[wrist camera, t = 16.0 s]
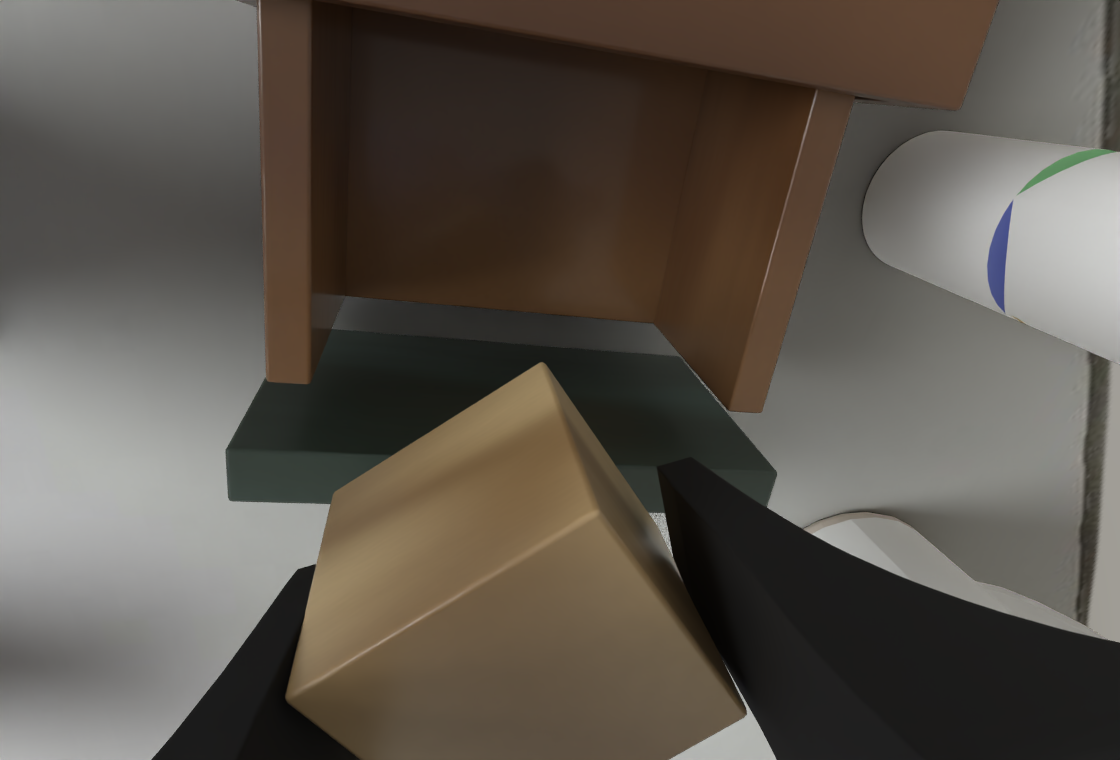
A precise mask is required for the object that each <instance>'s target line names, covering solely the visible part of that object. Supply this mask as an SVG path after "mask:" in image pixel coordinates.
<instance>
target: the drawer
mask: <svg viewBox="0 0 1120 760" xmlns="http://www.w3.org/2000/svg"><path fill="white" fill-rule="evenodd" d="M256 1H257V41H258V81H259V121H260V161H261V201H262V241H263V282H264V322H265V362H266V377H265V379H264V381H263V383H262V385H261V387H260V388H259V390H258V392H257V394H256V396H255V397H254V399H253V401H252V403H251V405H250V407H249V408H248V410H247V412H246V414H245V416H244V418H243V419H242V421H241V423H240V425H239V427H238V429H237V430H236V432H235V434H234V436H233V438H232V439H231V441H230V443H229V445H228V447H227V449H226V469H227V488H228V498H229V500H230V501H241V502H278V503H315V504H331V501H332V496H333V494H334V492H335V491H337V490H338V489H340V488H342V487H343V486H345V485H346V484H348V483H349V482H351V481H353V480H354V479H356V478H357V477H359V476H361V475H362V474H364V473H365V472H367V471H369V470H370V469H372V468H373V467H375V466H376V465H378V464H380V463H381V462H383V461H384V460H386V459H388V458H389V457H391V456H392V455H394V454H396V453H397V452H399V451H400V450H402V449H403V448H405V447H407V446H408V445H410V444H411V443H413V442H415V441H416V440H418V439H419V438H421V437H423V436H424V435H426V434H427V433H429V432H430V431H432V430H434V429H435V428H437V427H438V426H440V425H442V424H443V423H445V422H446V421H448V420H450V419H451V418H453V417H454V416H456V415H457V414H459V413H461V412H462V411H464V410H465V409H467V408H469V407H470V406H472V405H473V404H475V403H477V402H478V401H480V400H481V399H483V398H484V397H486V396H488V395H489V394H491V393H492V392H494V391H496V390H497V389H499V388H500V387H502V386H504V385H505V384H507V383H508V382H510V381H511V380H513V379H515V378H516V377H518V376H519V375H521V374H523V373H524V372H526V371H527V370H529V369H531V368H532V367H534V366H535V365H537V364H538V363H541V362H543V363H545V364H546V365H547V366H548V368H549V369H550V371H551V372H552V374H553V375H554V377H555V378H556V380H557V381H558V382H559V384H560V385H561V387H562V388H563V390H564V391H565V393H566V394H567V396H568V397H569V398H570V400H571V401H572V403H573V404H574V406H575V407H576V409H577V410H578V412H579V413H580V414H581V416H582V417H583V419H584V420H585V422H586V423H587V425H588V426H589V428H590V429H591V430H592V432H593V433H594V435H595V436H596V438H597V439H598V441H599V442H600V443H601V445H602V446H603V448H604V449H605V451H606V452H607V454H608V455H609V457H610V458H611V459H612V461H613V462H614V464H615V465H616V467H617V468H618V470H619V471H620V473H621V474H622V475H623V477H624V478H625V480H626V481H627V483H628V484H629V486H630V487H631V489H632V490H633V491H634V493H635V494H636V496H637V497H638V499H639V500H640V502H641V503H642V505H643V506H644V507H645V509H646V510H647V512H648V513H665V510H664V505H663V499H662V494H661V489H660V483H659V478H658V473H657V466H660V465H664V464H667V463H671V462H674V461H678V460H681V459H685V458H688V457H692V458H694V459H696V460H697V461H699V462H700V463H702V464H703V465H705V466H706V467H707V468H709V469H710V470H712V471H713V472H714V473H716V474H717V475H719V476H720V477H722V478H723V479H724V480H726V481H727V482H729V483H730V484H732V485H733V486H735V487H736V488H738V489H739V490H741V491H742V492H743V493H745V494H746V495H748V496H750V497H751V498H753V499H754V500H756V501H757V502H759V503H760V504H762V505H764V506H765V507H767V505H768V502H769V498H770V495H771V492H772V489H773V486H774V483H775V480H776V477H777V472H776V470H775V469H774V468H773V467H772V465H771V464H770V463H769V462H768V461H767V460H766V458H765V457H764V456H763V455H762V454H761V452H760V451H759V450H758V449H757V448H756V447H755V445H754V444H753V443H752V442H751V441H750V439H749V438H748V437H747V436H746V435H745V434H744V432H743V431H742V430H741V429H740V428H739V427H738V425H737V424H736V423H735V422H734V421H733V419H732V418H731V417H730V416H729V415H728V414H727V412H726V411H725V410H724V409H723V408H722V406H721V405H720V404H719V403H718V402H717V401H716V399H715V398H714V397H713V396H712V395H711V394H710V392H709V391H708V390H707V389H706V388H705V386H704V385H703V384H702V383H701V382H700V381H699V379H698V378H697V377H696V376H695V375H694V373H693V372H692V371H691V370H690V369H689V368H688V366H687V365H686V364H685V363H684V362H683V361H682V359H681V358H680V357H677V356H664V355H652V354H639V353H626V352H614V351H601V350H589V349H576V348H563V347H551V346H538V345H525V344H513V343H500V342H488V341H475V340H462V339H450V338H437V337H424V336H412V335H399V334H387V333H374V332H361V331H349V330H336V329H332V328H333V325H334V323H335V320H336V317H337V315H338V312H339V310H340V307H341V305H342V302H343V300H344V297H345V296H351V297H362V298H373V299H385V300H396V301H407V302H418V303H429V304H440V305H452V306H463V307H474V308H485V309H496V310H508V311H519V312H530V313H541V314H552V315H563V316H575V317H586V318H597V319H608V320H619V321H630V322H642V323H653V324H654V325H655V326H656V327H657V328H658V329H659V331H660V332H661V333H662V334H663V335H664V336H665V338H666V339H667V340H668V341H669V342H670V343H671V345H672V346H673V347H674V348H675V349H676V350H677V352H678V353H679V354H680V355H681V356H682V357H683V359H684V360H685V361H686V362H687V363H688V364H689V366H690V367H691V368H692V369H693V370H694V371H695V373H696V374H697V375H698V376H699V377H700V378H701V379H702V381H703V382H704V383H705V384H706V385H707V386H708V388H709V389H710V390H711V391H712V392H713V393H714V395H715V396H716V397H717V398H718V399H719V400H720V402H721V403H722V404H723V405H724V406H725V407H726V409H727V410H728V411H734V412H750V413H761V412H762V410H763V407H764V403H765V400H766V396H767V393H768V390H769V386H770V383H771V380H772V376H773V373H774V369H775V366H776V363H777V359H778V356H779V353H780V349H781V346H782V342H783V339H784V336H785V332H786V329H787V326H788V322H789V319H790V315H791V312H792V309H793V305H794V302H795V299H796V295H797V292H798V288H799V285H800V282H801V278H802V275H803V272H804V268H805V265H806V261H807V258H808V255H809V251H810V248H811V245H812V241H813V238H814V234H815V231H816V228H817V224H818V221H819V218H820V214H821V211H822V207H823V204H824V201H825V197H826V194H827V191H828V187H829V184H830V181H831V177H832V174H833V170H834V167H835V164H836V160H837V157H838V154H839V150H840V147H841V143H842V140H843V137H844V133H845V130H846V127H847V123H848V120H849V116H850V113H851V110H852V106H853V103H854V100H855V96H854V95H848V94H842V93H837V92H831V91H825V90H820V89H814V88H808V87H803V86H797V85H791V84H786V83H780V82H774V81H769V80H763V79H757V78H752V77H746V76H740V75H735V74H729V73H723V72H718V71H712V70H706V69H701V68H695V67H689V66H684V65H678V64H672V63H667V62H661V61H655V60H650V59H644V58H638V57H633V56H627V55H621V54H616V53H610V52H604V51H599V50H593V49H587V48H582V47H576V46H570V45H565V44H559V43H553V42H548V41H542V40H536V39H531V38H525V37H519V36H514V35H508V34H502V33H497V32H491V31H485V30H480V29H474V28H468V27H463V26H457V25H451V24H446V23H440V22H434V21H429V20H423V19H417V18H412V17H406V16H400V15H395V14H389V13H383V12H378V11H372V10H366V9H361V8H355V7H349V6H344V5H338V4H332V3H327V2H321V1H315V0H256Z"/></svg>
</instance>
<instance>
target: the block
mask: <svg viewBox="0 0 1120 760" xmlns="http://www.w3.org/2000/svg"><path fill="white" fill-rule="evenodd" d="M285 699H286V701H287V703H288V704H289V705H291V706H292V707H293V708H295V709H296V710H297V711H298V712H300V713H301V714H302V715H304V716H305V717H306V718H307V719H309V720H310V721H311V722H313V723H314V724H315V725H316V726H318V727H319V728H320V729H322V730H323V731H324V732H325V733H327V734H328V735H329V736H330V737H332V738H333V739H334V740H336V741H337V742H338V743H339V744H341V745H342V746H343V747H345V748H346V749H347V750H348V751H350V752H351V753H352V754H354V755H355V756H356V757H357V758H359V759H360V760H669V759H671V758H672V757H674V756H676V755H678V754H680V753H681V752H683V751H685V750H687V749H689V748H690V747H692V746H694V745H696V744H698V743H699V742H701V741H703V740H705V739H707V738H708V737H710V736H712V735H714V734H715V733H717V732H719V731H721V730H723V729H724V728H726V727H728V726H730V725H732V724H733V723H735V722H737V721H739V720H741V719H742V718H744V717H745V716H746V715H747V711H746V707H745V705H744V703H743V701H742V699H741V697H740V695H739V693H738V691H737V689H736V687H735V685H734V682H733V680H732V678H731V676H730V674H729V672H728V670H727V668H726V666H725V664H724V662H723V660H722V658H721V656H720V654H719V652H718V650H717V648H716V646H715V644H714V642H713V640H712V638H711V636H710V634H709V632H708V630H707V628H706V626H705V625H704V623H703V621H702V619H701V617H700V615H699V613H698V611H697V609H696V607H695V606H694V604H693V602H692V599H691V597H690V595H689V593H688V591H687V589H686V587H685V585H684V583H683V580H682V578H681V576H680V573H679V571H678V568H677V566H676V563H675V561H674V559H673V557H672V555H671V553H670V551H669V549H668V547H667V545H666V543H665V541H664V539H663V537H662V535H661V533H660V530H659V528H658V526H657V525H656V523H655V522H654V521H653V519H652V518H651V516H650V515H649V513H648V512H647V510H646V509H645V507H644V506H643V505H642V503H641V502H640V500H639V499H638V497H637V496H636V494H635V493H634V491H633V490H632V489H631V487H630V486H629V484H628V483H627V481H626V480H625V478H624V477H623V475H622V474H621V473H620V471H619V470H618V468H617V467H616V465H615V464H614V462H613V461H612V459H611V458H610V457H609V455H608V454H607V452H606V451H605V449H604V448H603V446H602V445H601V443H600V442H599V441H598V439H597V438H596V436H595V435H594V433H593V432H592V430H591V429H590V428H589V426H588V425H587V423H586V422H585V420H584V419H583V417H582V416H581V414H580V413H579V412H578V410H577V409H576V407H575V406H574V404H573V403H572V401H571V400H570V398H569V397H568V396H567V394H566V393H565V391H564V390H563V388H562V387H561V385H560V384H559V382H558V381H557V380H556V378H555V377H554V375H553V374H552V372H551V371H550V369H549V368H548V366H547V365H546V364H545V363H543V362H541V363H538V364H537V365H535V366H534V367H532V368H531V369H529V370H527V371H526V372H524V373H523V374H521V375H519V376H518V377H516V378H515V379H513V380H511V381H510V382H508V383H507V384H505V385H504V386H502V387H500V388H499V389H497V390H496V391H494V392H492V393H491V394H489V395H488V396H486V397H484V398H483V399H481V400H480V401H478V402H477V403H475V404H473V405H472V406H470V407H469V408H467V409H465V410H464V411H462V412H461V413H459V414H457V415H456V416H454V417H453V418H451V419H450V420H448V421H446V422H445V423H443V424H442V425H440V426H438V427H437V428H435V429H434V430H432V431H430V432H429V433H427V434H426V435H424V436H423V437H421V438H419V439H418V440H416V441H415V442H413V443H411V444H410V445H408V446H407V447H405V448H403V449H402V450H400V451H399V452H397V453H396V454H394V455H392V456H391V457H389V458H388V459H386V460H384V461H383V462H381V463H380V464H378V465H376V466H375V467H373V468H372V469H370V470H369V471H367V472H365V473H364V474H362V475H361V476H359V477H357V478H356V479H354V480H353V481H351V482H349V483H348V484H346V485H345V486H343V487H342V488H340V489H338V490H337V491H335V492H334V494H333V496H332V501H331V505H330V509H329V513H328V517H327V522H326V526H325V530H324V534H323V538H322V543H321V547H320V551H319V555H318V559H317V564H316V568H315V572H314V576H313V580H312V585H311V589H310V593H309V597H308V601H307V606H306V610H305V617H304V620H303V624H302V627H301V631H300V635H299V639H298V643H297V648H296V652H295V656H294V660H293V665H292V669H291V673H290V677H289V681H288V686H287V690H286V694H285Z"/></svg>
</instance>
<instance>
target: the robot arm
mask: <svg viewBox="0 0 1120 760" xmlns="http://www.w3.org/2000/svg"><path fill="white" fill-rule="evenodd" d="M657 473H658V478H659V483H660V489H661V494H662V499H663V505H664V510H665V515H666V521H667V526H668V531H669V537H670V542H671V547H672V553H673V558H674V561H675V563H676V566H677V568H678V571H679V573H680V576H681V578H682V580H683V583H684V585H685V587H686V589H687V591H688V593H689V595H690V597H691V599H692V602H693V604H694V606H695V607H696V609H697V611H698V613H699V615H700V617H701V619H702V621H703V623H704V625H705V626H706V628H707V630H708V632H709V634H710V636H711V638H712V640H713V642H714V644H715V646H716V648H717V650H718V652H719V654H720V656H721V658H722V660H723V662H724V663H725V665H726V667H727V669H728V670H729V672H730V674H731V676H732V678H733V679H734V681H735V683H736V685H737V686H738V688H739V690H740V692H741V694H742V695H743V697H744V699H745V701H746V702H747V704H748V706H749V708H750V710H751V711H752V713H753V715H754V717H755V718H756V720H757V722H758V724H759V726H760V727H761V729H762V731H763V733H764V735H765V737H766V739H767V741H768V743H769V745H770V747H771V749H772V751H773V753H774V755H775V757H776V759H777V760H1120V643H1119V642H1114V641H1110V640H1106V639H1101V638H1097V637H1092V636H1088V635H1084V634H1079V633H1075V632H1071V631H1067V630H1063V629H1059V628H1056V627H1052V626H1049V625H1045V624H1042V623H1038V622H1035V621H1031V620H1027V619H1024V618H1020V617H1017V616H1013V615H1010V614H1006V613H1003V612H1000V611H997V610H994V609H991V608H987V607H984V606H981V605H978V604H975V603H972V602H969V601H966V600H963V599H960V598H957V597H955V596H952V595H949V594H946V593H944V592H941V591H938V590H935V589H932V588H930V587H927V586H924V585H921V584H919V583H916V582H914V581H911V580H909V579H906V578H904V577H901V576H899V575H896V574H894V573H891V572H889V571H887V570H885V569H882V568H880V567H878V566H876V565H873V564H871V563H869V562H867V561H864V560H862V559H860V558H858V557H855V556H853V555H851V554H849V553H847V552H845V551H843V550H841V549H839V548H837V547H835V546H833V545H831V544H829V543H827V542H825V541H823V540H822V539H820V538H818V537H816V536H814V535H812V534H811V533H809V532H807V531H805V530H803V529H802V528H800V527H798V526H796V525H795V524H793V523H791V522H790V521H788V520H786V519H785V518H783V517H781V516H780V515H778V514H777V513H775V512H773V511H772V510H770V509H768V508H767V507H765V506H764V505H762V504H760V503H759V502H757V501H756V500H754V499H753V498H751V497H750V496H748V495H746V494H745V493H743V492H742V491H741V490H739V489H738V488H736V487H735V486H733V485H732V484H730V483H729V482H727V481H726V480H724V479H723V478H722V477H720V476H719V475H717V474H716V473H714V472H713V471H712V470H710V469H709V468H707V467H706V466H705V465H703V464H702V463H700V462H699V461H697V460H696V459H694V458H692V457H688V458H685V459H681V460H678V461H674V462H671V463H667V464H664V465H660V466H657ZM315 568H316V564H315V565H311V566H308V567H304V568H301V569H298V570H297V571H296V572H295V573H294V575H293V576H292V577H291V579H290V580H289V581H288V583H287V584H286V585H285V587H284V588H283V589H282V591H281V592H280V593H279V595H278V596H277V598H276V599H275V600H274V602H273V603H272V605H271V606H270V607H269V609H268V610H267V612H266V613H265V614H264V616H263V617H262V619H261V620H260V622H259V623H258V624H257V626H256V627H255V629H254V630H253V631H252V633H251V634H250V635H249V637H248V638H247V639H246V641H245V642H244V644H243V645H242V646H241V648H240V649H239V650H238V652H237V653H236V654H235V656H234V657H233V659H232V660H231V661H230V663H229V664H228V665H227V667H226V668H225V670H224V671H223V672H222V674H221V675H220V676H219V677H218V679H217V680H216V681H215V682H214V684H213V685H212V686H211V687H210V689H209V690H208V691H207V693H206V694H205V695H204V696H203V698H202V699H201V700H200V701H199V703H198V704H197V705H196V706H195V708H194V709H193V710H192V711H191V713H190V714H189V715H188V716H187V718H186V719H185V720H184V721H183V723H182V724H181V725H180V727H179V728H178V729H177V730H176V732H175V733H174V734H173V735H172V736H171V738H170V739H169V740H168V741H167V742H166V743H165V745H164V746H163V747H162V748H161V749H160V750H159V752H158V753H157V754H156V755H155V756H154V757H153V758H152V760H360V759H359V758H357V757H356V756H355V755H354V754H352V753H351V752H350V751H348V750H347V749H346V748H345V747H343V746H342V745H341V744H339V743H338V742H337V741H336V740H334V739H333V738H332V737H330V736H329V735H328V734H327V733H325V732H324V731H323V730H322V729H320V728H319V727H318V726H316V725H315V724H314V723H313V722H311V721H310V720H309V719H307V718H306V717H305V716H304V715H302V714H301V713H300V712H298V711H297V710H296V709H295V708H293V707H292V706H291V705H289V704H288V703H287V701H286V699H285V694H286V690H287V686H288V681H289V677H290V673H291V669H292V665H293V660H294V656H295V652H296V648H297V643H298V639H299V635H300V631H301V627H302V624H303V620H304V617H305V610H306V606H307V601H308V597H309V593H310V589H311V585H312V580H313V576H314V572H315Z"/></svg>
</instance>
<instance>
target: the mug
mask: <svg viewBox="0 0 1120 760" xmlns="http://www.w3.org/2000/svg"><path fill="white" fill-rule="evenodd" d="M803 530H805V531H807V532H809V533H811V534H812V535H814V536H816V537H818V538H820V539H822V540H823V541H825V542H827V543H829V544H831V545H833V546H835V547H837V548H839V549H841V550H843V551H845V552H847V553H849V554H851V555H853V556H855V557H858V558H860V559H862V560H864V561H867V562H869V563H871V564H873V565H876V566H878V567H880V568H882V569H885V570H887V571H889V572H891V573H894V574H896V575H899V576H901V577H904V578H906V579H909V580H911V581H914V582H916V583H919V584H921V585H924V586H927V587H930V588H932V589H935V590H938V591H941V592H944V593H946V594H949V595H952V596H955V597H957V598H960V599H963V600H966V601H969V602H972V603H975V604H978V605H981V606H984V607H987V608H991V609H994V610H997V611H1000V612H1003V613H1006V614H1010V615H1013V616H1017V617H1020V618H1024V619H1027V620H1031V621H1035V622H1038V623H1042V624H1045V625H1049V626H1052V627H1056V628H1059V629H1063V630H1067V631H1071V632H1075V633H1079V634H1084V635H1088V636H1092V637H1097V638H1101V639H1106V638H1105V637H1103V636H1101V635H1100V634H1098V633H1097V632H1095V631H1093V630H1092V629H1090V628H1089V627H1087V626H1085V625H1083V624H1081V623H1079V622H1077V621H1075V620H1073V619H1071V618H1069V617H1067V616H1065V615H1063V614H1061V613H1059V612H1057V611H1055V610H1054V609H1052V608H1050V607H1048V606H1046V605H1044V604H1042V603H1040V602H1038V601H1035V600H1033V599H1030V598H1028V597H1025V596H1023V595H1020V594H1018V593H1016V592H1013V591H1011V590H1008V589H1006V588H1003V587H1000V586H996V585H991V584H987V583H982V582H978V581H974V580H973V579H972V578H971V577H970V576H969V575H967V574H966V573H965V572H964V571H963V570H962V569H960V568H959V567H958V566H957V565H956V564H955V563H953V562H952V561H951V560H950V559H949V558H948V557H946V556H945V555H944V554H943V553H942V552H941V551H939V550H938V549H937V548H936V547H935V546H934V545H932V544H931V543H930V542H929V541H928V540H927V539H926V538H924V537H923V536H922V535H921V534H920V533H919V532H917V531H916V530H915V529H914V528H913V527H912V526H910V525H908V524H907V523H905V522H903V521H901V520H899V519H897V518H895V517H892V516H887V515H881V514H875V513H870V512H858V513H846V514H840V515H836V516H833V517H830V518H827V519H823V520H820V521H817V522H815V523H813V524H811V525H810V526H808V527H806V528H804V529H803ZM1106 640H1108V639H1106Z"/></svg>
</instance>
